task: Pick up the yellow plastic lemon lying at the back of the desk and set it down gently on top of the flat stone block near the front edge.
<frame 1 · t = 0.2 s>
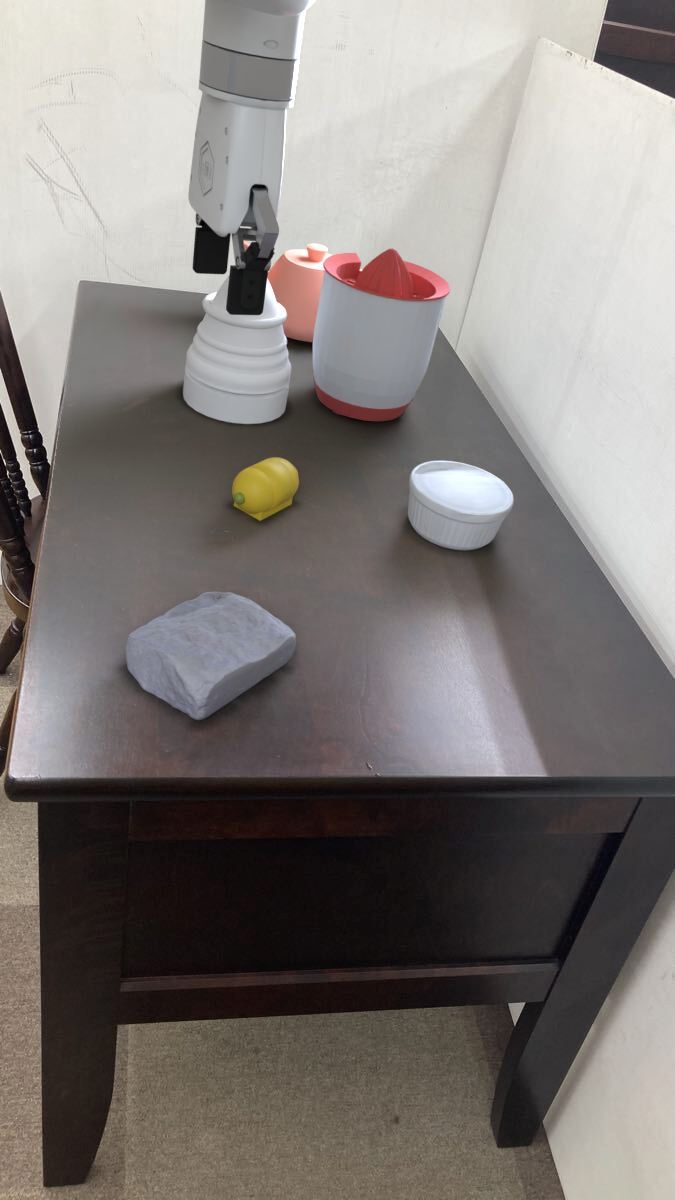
hand: (226, 292, 80), 21 cm above the table, tool pointing down, fingers open, 9 cm apart
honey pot: (234, 401, 112), on the table
citrus juicer: (358, 401, 118), on the table
ramekin: (449, 529, 96), on the table
lemon: (262, 505, 93), on the table
stone block: (205, 663, 72), on the table
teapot: (298, 329, 135), on the table
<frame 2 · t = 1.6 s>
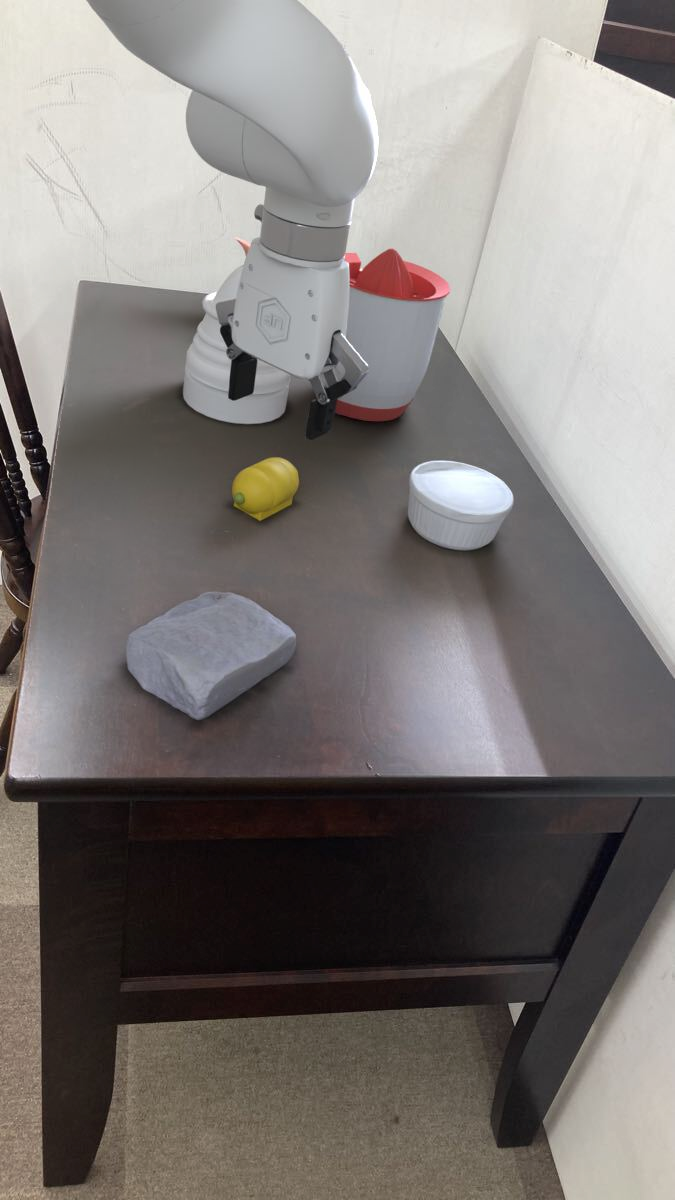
hand: (278, 415, 87), 10 cm above the table, tool pointing down, fingers open, 9 cm apart
nothing on the table moved.
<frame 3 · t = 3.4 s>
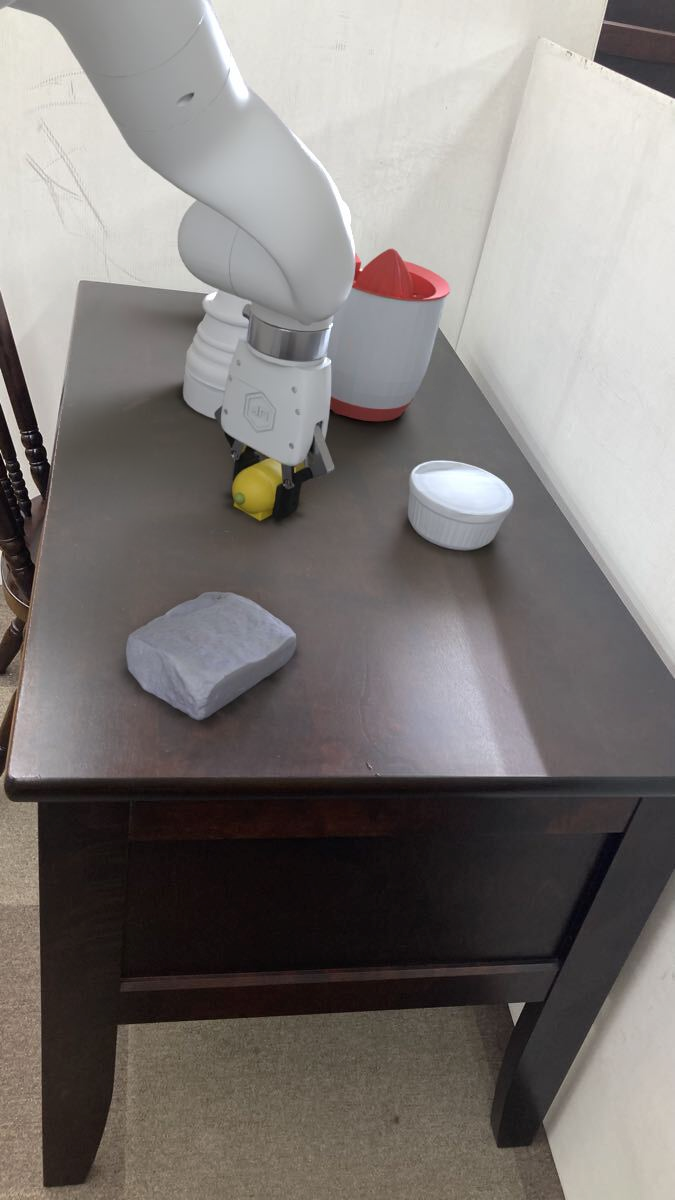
hand: (263, 501, 93), 0 cm above the table, tool pointing down, fingers closed on lemon, 4 cm apart
lemon: (262, 505, 93), on the table, touching gripper
everything else where it was.
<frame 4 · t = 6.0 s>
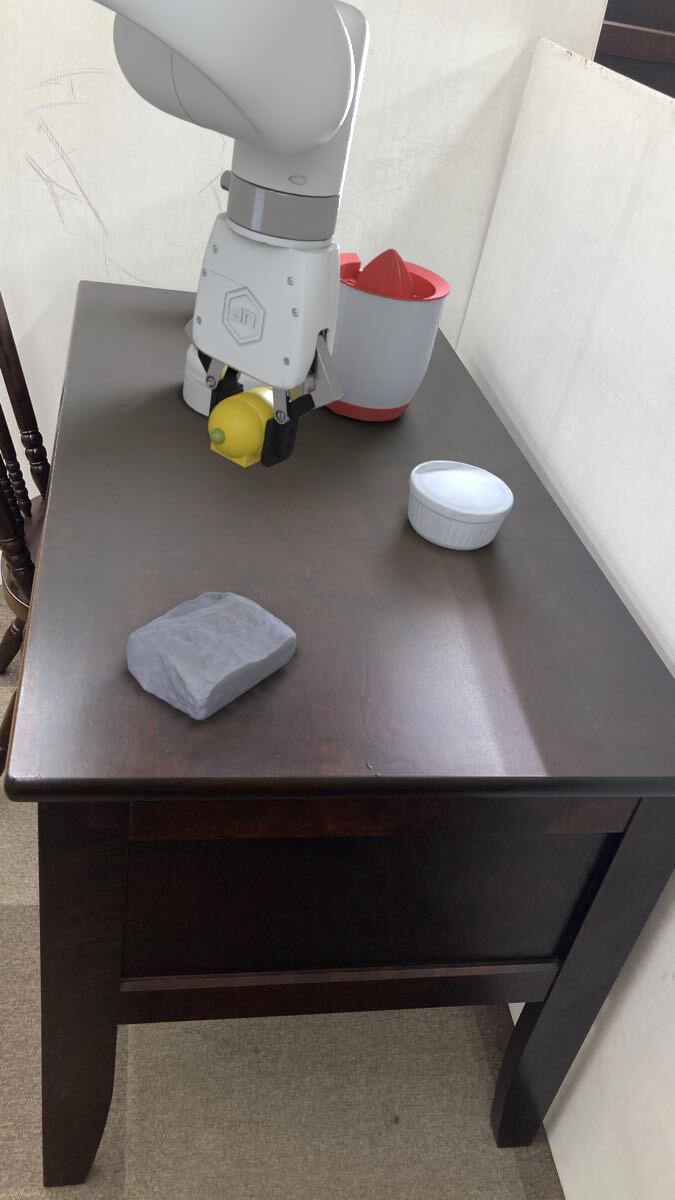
hand: (249, 445, 71), 15 cm above the table, tool pointing down, fingers closed on lemon, 4 cm apart
lemon: (248, 449, 72), point 15 cm above the table, touching gripper
everything else where it was.
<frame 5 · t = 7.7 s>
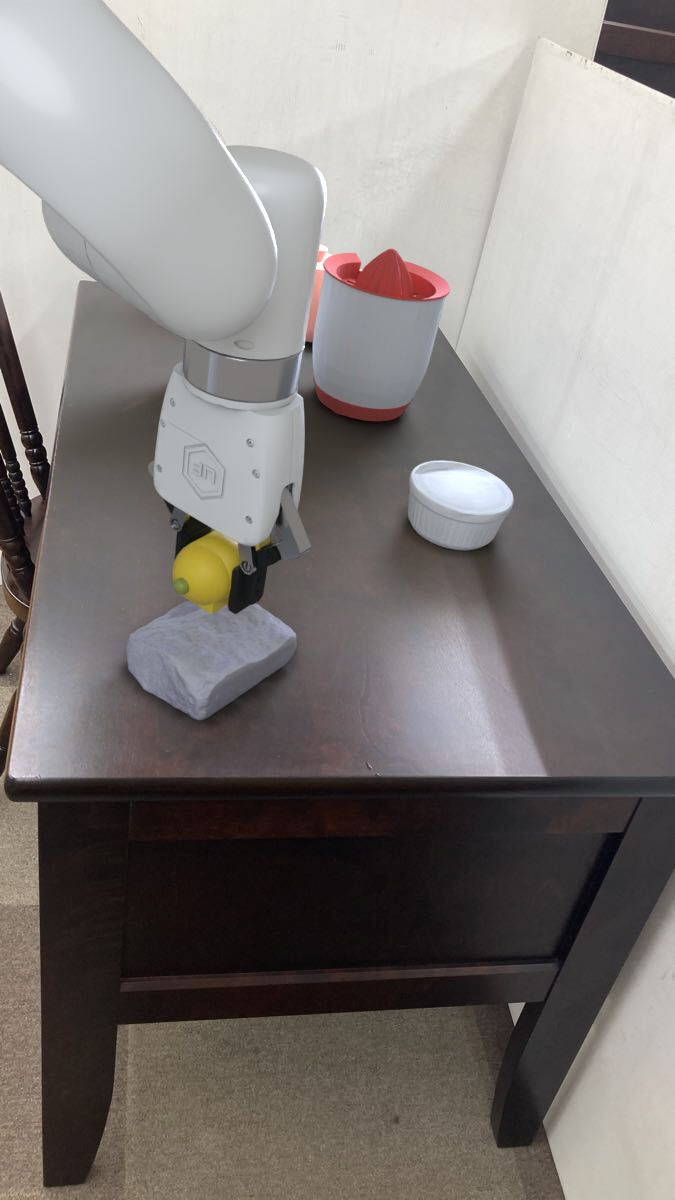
hand: (217, 585, 68), 8 cm above the table, tool pointing down, fingers closed on lemon, 4 cm apart
lemon: (217, 589, 68), point 7 cm above the table, touching gripper
everything else where it was.
when the fingers open (5 cm above the table, at t = 8.9 s): lemon stays where it is, resting on stone block.
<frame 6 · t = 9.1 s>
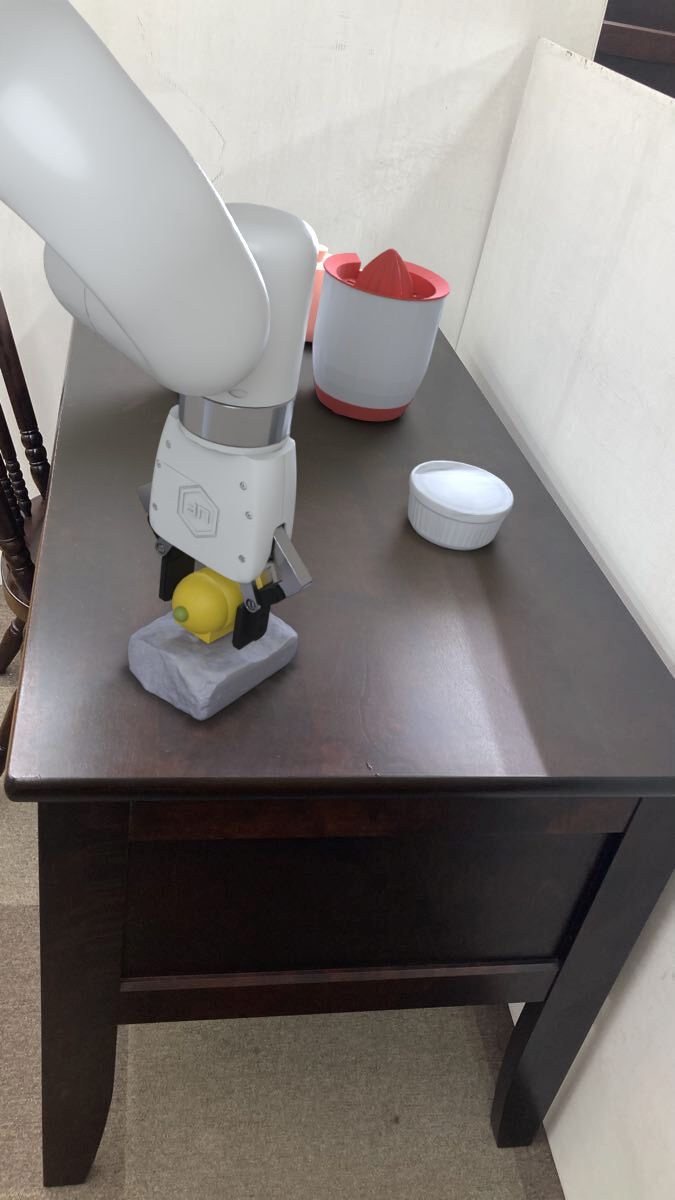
hand: (211, 615, 69), 5 cm above the table, tool pointing down, fingers open, 7 cm apart
lemon: (213, 620, 70), point 4 cm above the table, tilted 5°, touching stone block
stone block: (207, 663, 72), on the table, touching lemon
everything else where it was.
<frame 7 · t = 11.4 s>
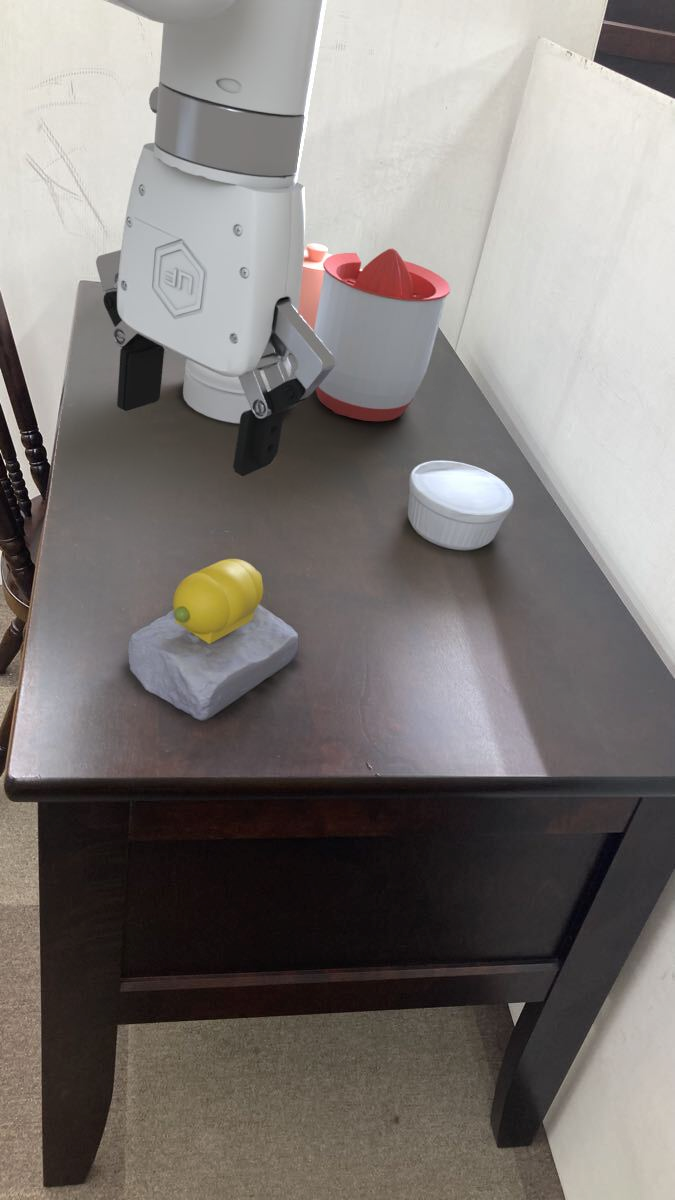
hand: (194, 435, 56), 22 cm above the table, tool pointing down, fingers open, 9 cm apart
nothing on the table moved.
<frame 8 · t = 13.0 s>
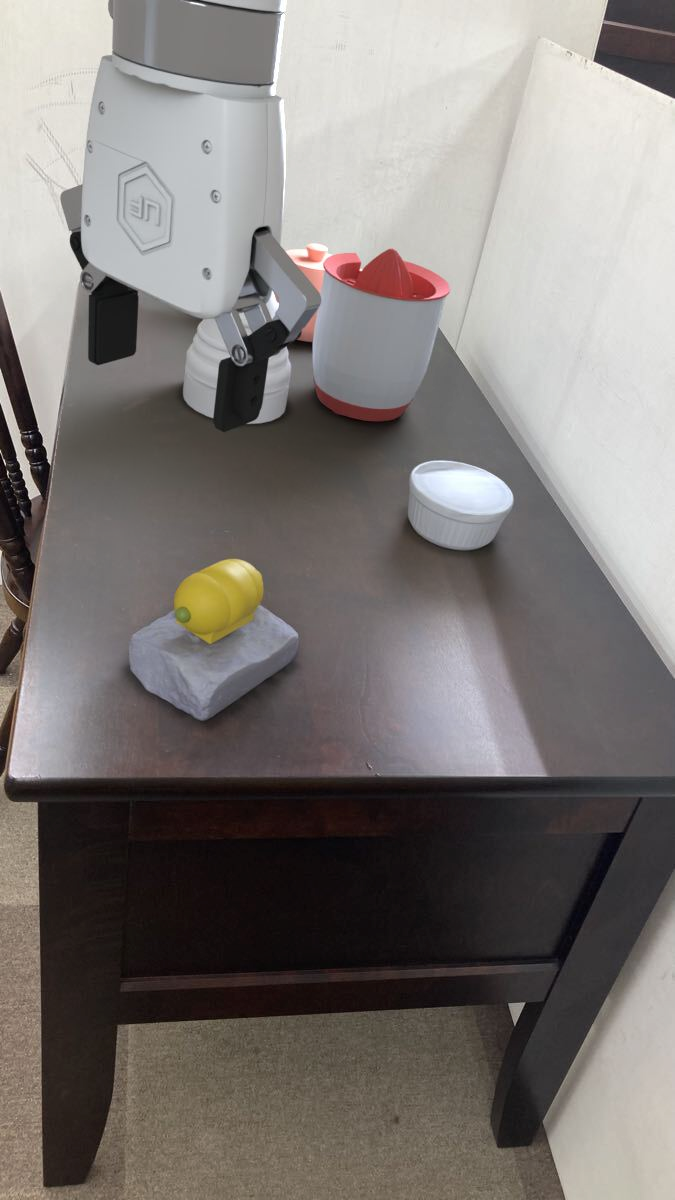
hand: (171, 390, 51), 26 cm above the table, tool pointing down, fingers open, 9 cm apart
nothing on the table moved.
at the end: lemon inside the target area on the stone block (0.2 cm from its centre), point 4.4 cm above the stone block's base; lemon touching stone block; the gripper is holding nothing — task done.
